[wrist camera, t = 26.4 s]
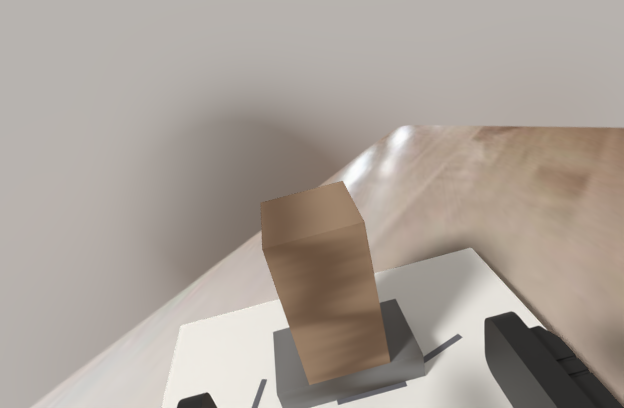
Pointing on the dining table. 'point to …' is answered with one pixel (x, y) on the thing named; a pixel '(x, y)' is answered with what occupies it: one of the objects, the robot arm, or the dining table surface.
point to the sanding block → (331, 303)
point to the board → (390, 285)
